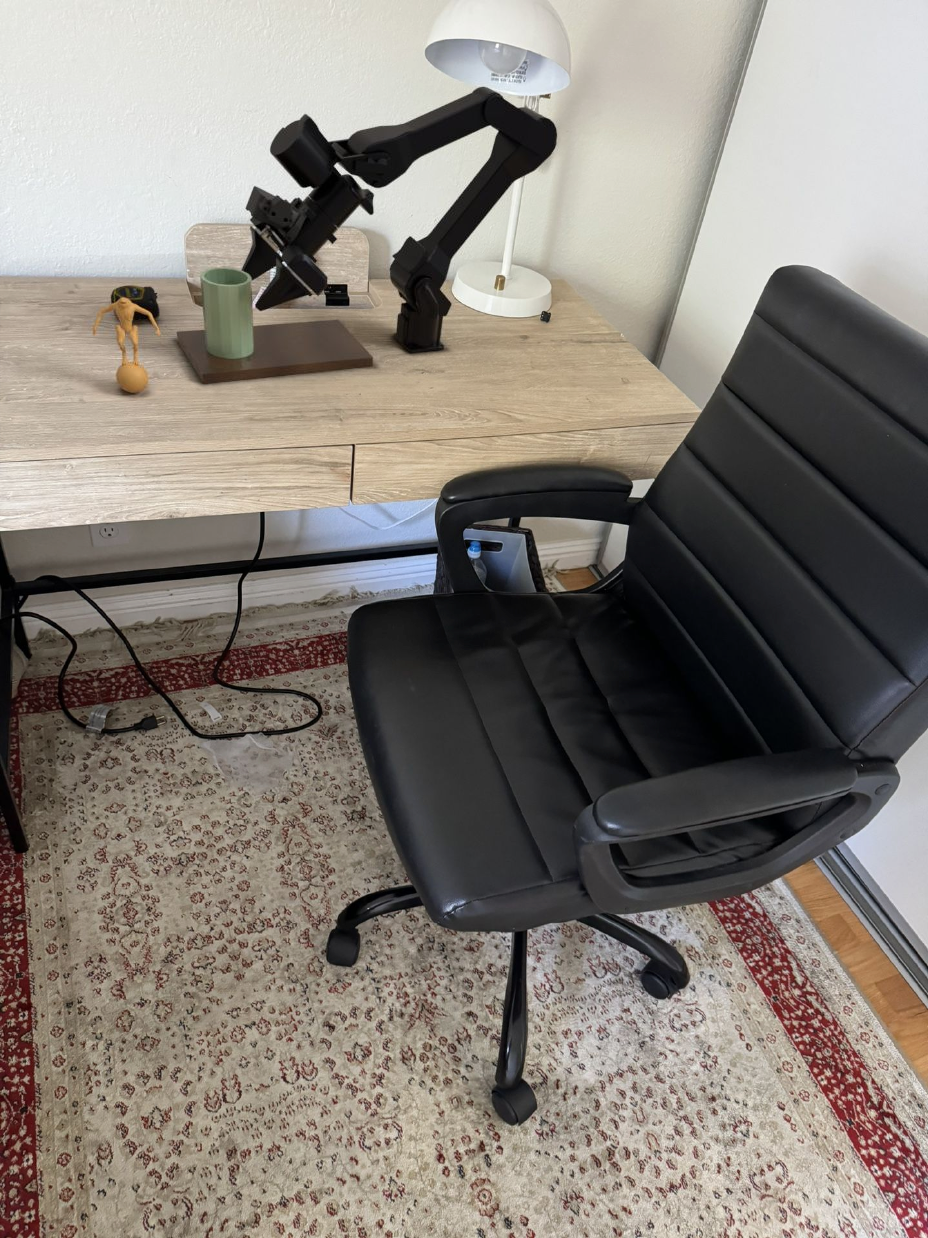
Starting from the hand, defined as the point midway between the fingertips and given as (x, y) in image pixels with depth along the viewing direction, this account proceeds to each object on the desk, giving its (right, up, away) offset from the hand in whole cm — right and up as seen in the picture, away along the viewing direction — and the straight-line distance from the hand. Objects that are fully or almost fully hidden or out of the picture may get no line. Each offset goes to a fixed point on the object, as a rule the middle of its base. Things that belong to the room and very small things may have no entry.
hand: (248, 295), depth 115 cm
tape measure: (-20, +1, +11) cm, 23 cm away
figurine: (-14, -15, -5) cm, 21 cm away
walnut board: (+2, -6, +8) cm, 10 cm away
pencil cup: (-4, -6, +4) cm, 8 cm away
